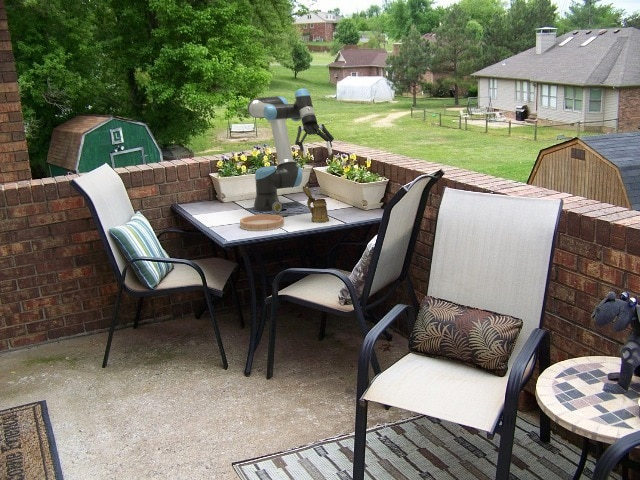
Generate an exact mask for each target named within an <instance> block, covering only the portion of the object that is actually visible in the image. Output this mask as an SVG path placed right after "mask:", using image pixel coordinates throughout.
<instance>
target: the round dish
mask: <svg viewBox="0 0 640 480" xmlns="http://www.w3.org/2000/svg"><path fill="white" fill-rule="evenodd" d="M284 220H285V219H284V217H282V216H279V215H276V214H254V215H248V216H244V217H242V218H240V219H239V225H240V227H239V228H240V229H242V230H245V231H253V232H257V231H258V232H259V231H260V232H262V231H265V232H266V231H273V230H276V229H280V228H282V227H283V226H284V223H285V221H284Z"/></svg>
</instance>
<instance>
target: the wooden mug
mask: <svg viewBox="0 0 640 480" xmlns="http://www.w3.org/2000/svg"><path fill="white" fill-rule="evenodd" d="M302 191H303V193H304V195H305V197H307V198H308V199H307V202H306V204H307V208H308V209H309V211H310V212H311V222H312V223H316V224H319V223H327V222H329V221H330V217H329V214H328V208H327V202H326V201H327V200H326V199H325V198H316V197H313V195H312V193H311V191H310V190H309V189H308V188H307V187H306V186H304V185H302ZM311 204H312V205H311Z"/></svg>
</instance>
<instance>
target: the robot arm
mask: <svg viewBox="0 0 640 480" xmlns="http://www.w3.org/2000/svg"><path fill="white" fill-rule="evenodd" d="M294 98H295V101H294V103H289V102H288V100H287V98H285V97H284V96H279V95H278V96H277V95H275V96H264V97H263V96H262V97H256V98H253V99H252V100H250V101H249V103H248V104H247V108H246V109H247V112H248V114H249V116H251V117H252V118H255V119H264V120H266V121H267V123H269V124H270V126H271V128H270V129H271V131H272V132H271V133H272V136H273V137H272V138H273V141H274V142H273V143H274V147H275V152H276V153H275V154H276V157H277V165H276V166H275V165H266V166H262V167H259V168H258V169H256V170H255V173H254V179H255V193H256V196H255V200H254V204H253V210H254V211H259V212H273V210H272V205H273V203H274V202H276V200H275V199H278V200H277V201H279V202H280V200H279V196H278V190H280V189H289V188H290V189H291V188H292V189H293V188H298V187H300V186H301V184H302V181H303V169H302V167H301V165H298V164H297V163H298V162H297V161H295V160H294V157H293V152H292V147H291V141H290V137H289V133H288V127H287V122H286V121H287V119H290V120H292V121H294V122H299V121H301V125H302V126H300V125H299V126H298V127H297V135H296V139H295V142H294V145H295V146H298V147H299V149H300V152H302V155H303V158H304V159H306V158H307V156H308V153H307V150H306V146H305V143H304V142H305V139H306V137H307V136H308V135H309V136H312V135H313V136H315V135H316V136H319V137H320V138H321V139H322V140H324V141H325V142H326V147H327V151H328V155H329V156H332V154H333V150H332V148H333V143H332V142H333V141H334V140H335V139H334V136H333V135H332V134H331V133H330V131H328V129H327V128H326V126H325V124H323V123H322V124H320V125H319V124H318V120H317V116H316V112H315V109H314V108H315V107H314V105H313V101H312V98H311V93H310V91H309V89H307V88H300V89H297V90H296V91H295V92H294ZM302 131H304V132H305V133H304V135H303V137H302V138H301V140H300V137H301V135H302ZM275 197H276V198H275ZM278 206H279V205H278ZM278 208H279V207H278ZM276 209H277V208H276Z"/></svg>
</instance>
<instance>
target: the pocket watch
mask: <svg viewBox="0 0 640 480" xmlns="http://www.w3.org/2000/svg"><path fill="white" fill-rule="evenodd" d="M275 198H276V197H275ZM278 199H279V198H278ZM278 199H275V200H276V202H274V203H273V205H272V210H273V211H272V212H273V213H274V214H275V215H279V216H282V217H283V218H284V217H287V216H289V213H287V212H282V209H283V204H282V202H281V201H280V200H279V201H277V200H278ZM278 205H279V206H278ZM278 207H279V208H278ZM276 208H277V209H276Z"/></svg>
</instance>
